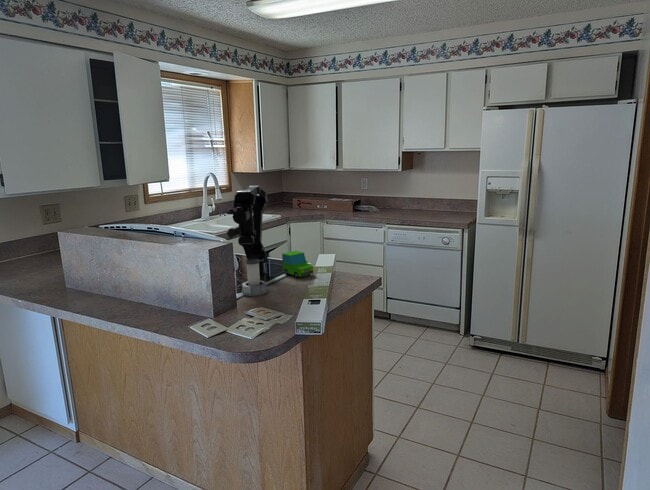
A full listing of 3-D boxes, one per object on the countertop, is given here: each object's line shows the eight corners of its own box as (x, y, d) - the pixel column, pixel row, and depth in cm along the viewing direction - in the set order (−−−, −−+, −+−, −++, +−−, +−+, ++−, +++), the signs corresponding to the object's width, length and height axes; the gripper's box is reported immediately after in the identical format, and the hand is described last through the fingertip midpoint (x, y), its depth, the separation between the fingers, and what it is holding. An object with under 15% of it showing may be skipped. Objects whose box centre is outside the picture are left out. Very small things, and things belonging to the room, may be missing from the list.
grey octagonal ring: (251, 286, 193) (251, 278, 193) (273, 289, 188) (272, 281, 188) (235, 294, 184) (235, 285, 183) (257, 297, 179) (257, 288, 178)
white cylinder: (256, 287, 190) (254, 257, 187) (263, 290, 186) (261, 260, 183) (245, 290, 186) (243, 260, 183) (252, 293, 182) (250, 262, 180)
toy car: (298, 280, 201) (297, 258, 199) (281, 274, 211) (280, 254, 209) (316, 275, 208) (315, 254, 206) (298, 270, 218) (297, 250, 215)
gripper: (229, 217, 199) (232, 251, 202) (224, 224, 181) (227, 262, 184) (254, 216, 200) (257, 250, 203) (252, 223, 182) (254, 260, 185)
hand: (248, 255), depth 194 cm, fingers open, 9 cm apart
